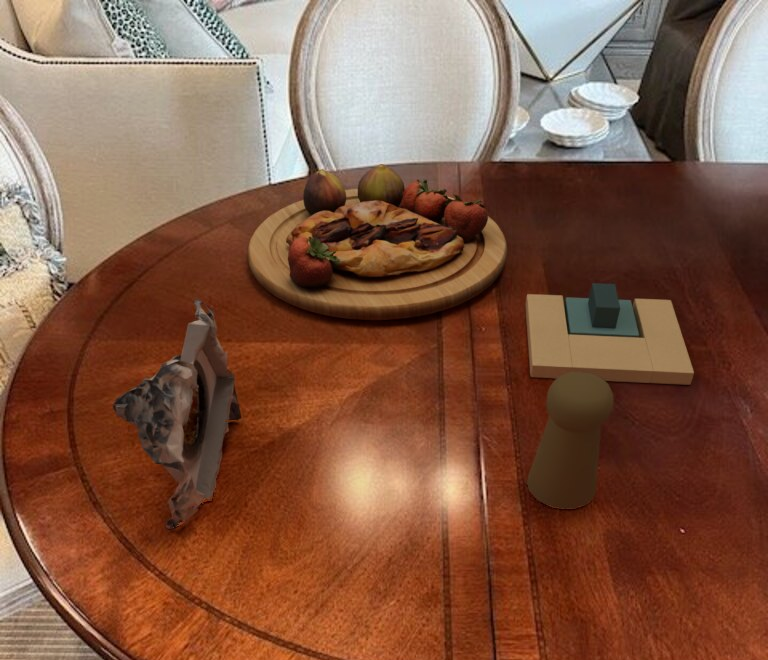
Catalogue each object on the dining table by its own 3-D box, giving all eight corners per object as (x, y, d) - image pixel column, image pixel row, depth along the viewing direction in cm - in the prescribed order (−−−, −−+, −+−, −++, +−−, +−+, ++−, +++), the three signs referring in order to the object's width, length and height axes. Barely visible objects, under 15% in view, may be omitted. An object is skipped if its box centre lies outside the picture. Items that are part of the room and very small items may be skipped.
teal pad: (628, 311, 89) (635, 279, 86) (636, 347, 84) (645, 314, 81) (563, 308, 89) (569, 276, 86) (568, 344, 84) (574, 311, 81)
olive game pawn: (518, 499, 67) (535, 396, 60) (536, 456, 71) (554, 354, 64) (588, 518, 66) (615, 414, 58) (602, 472, 70) (629, 370, 62)
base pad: (667, 311, 89) (671, 299, 88) (690, 385, 79) (694, 372, 78) (525, 305, 90) (527, 293, 89) (530, 377, 80) (532, 365, 79)
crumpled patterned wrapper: (199, 418, 75) (173, 297, 66) (243, 421, 75) (222, 299, 66) (150, 531, 65) (110, 406, 56) (201, 535, 65) (169, 409, 55)
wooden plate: (352, 361, 82) (349, 289, 76) (201, 249, 100) (189, 184, 94) (560, 265, 96) (571, 199, 90) (395, 182, 114) (395, 122, 108)
